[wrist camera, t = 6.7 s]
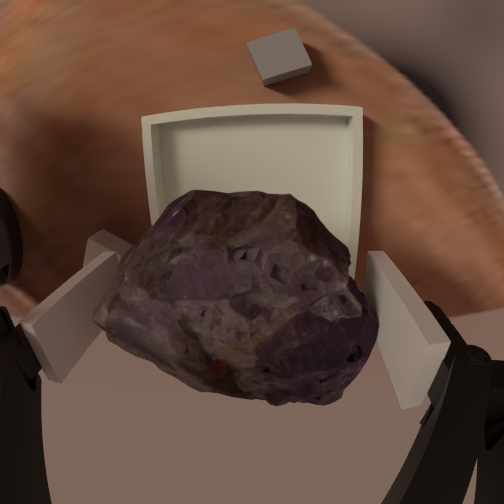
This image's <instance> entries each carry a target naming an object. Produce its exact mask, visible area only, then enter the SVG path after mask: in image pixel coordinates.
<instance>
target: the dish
mask: <svg viewBox="0 0 504 504" xmlns="http://www.w3.org/2000/svg"><path fill="white" fill-rule="evenodd" d="M141 119H142V136H143V151H144V163H145V174H146V184H147V193H148V201H149V210H150V217H151V225H152V226H153V225H154V223H155V222H156V221H157V220H158V218H159V217H160V215H161V214H162V213H163V211H164V210H165V208H166V207H167V206H168V205H169V203H171V202H172V201H174V200H175V199H177V198H178V197H180V196H182V195H184V194H186V193H187V192H189V191H191V190H194V189H195V190H208V191H217V192H224V193H233V192H242V191H261V192H264V193H267V194H291V195H292V196H294V197H295V198H296V199H297V200H299V201H301V202H303V203H305V204H307V205H308V206H309V207H310V208H311V209H313V210H314V212H315V213H316V215H317V216H318V218H319V219H320V221H321V222H322V223H323V224H324V225H325V227H326V228H327V229H328V230H329V231H330V232H331V233H332V234H333V235H334V236H335V237H336V238H337V239H339V240H340V241H341V242H342V243H343V244H345V245H346V246H347V247H348V249H349V252H350V255H351V257H350V261H351V264H350V266H349V276H351V277H352V278H353V279H355V270H356V261H357V252H358V241H359V229H360V215H361V199H362V174H363V112H362V107H356V106H343V105H325V104H251V105H233V106H220V107H209V108H199V109H190V110H182V111H175V112H168V113H161V114H155V115H149V116H144V117H141Z"/></svg>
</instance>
